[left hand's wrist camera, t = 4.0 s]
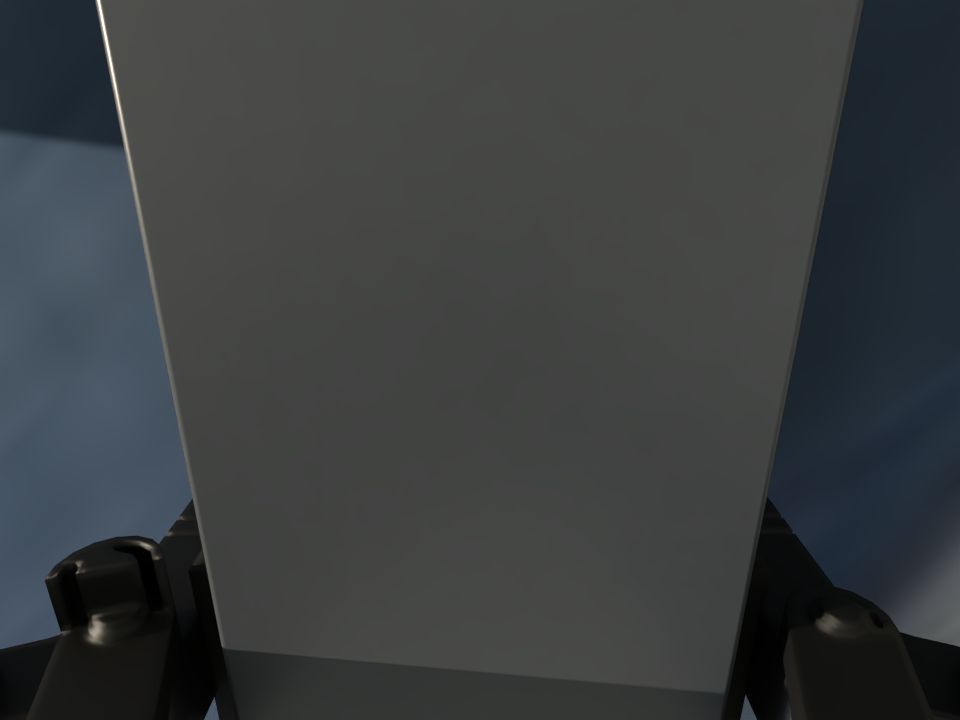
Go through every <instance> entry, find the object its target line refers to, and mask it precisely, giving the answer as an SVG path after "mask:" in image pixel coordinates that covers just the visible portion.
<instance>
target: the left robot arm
mask: <svg viewBox="0 0 960 720" xmlns="http://www.w3.org/2000/svg"><path fill="white" fill-rule="evenodd" d="M45 583H46V586H47V589H48V592H49V595H50V599H51V602H52V605H53V608H54V611H55V614H56V618H57V621H58V624H59V627H60V630H61V633H60V635H58V636H54V637H51V638H48V639H44V640H39V641H35V642H31V643H26V644H22V645H18V646H13V647H9V648H5V649H0V720H204V718H205V716H206V714H207V712H208V709H209V707H210V705H211V703H212V701H213V698H214V696H215V701H216V706H217V710H218V715H219V720H236V717H235V711H234V706H233V701H232V696H231V691H230V686H229V681H228V676H227V671H226V665H225V660H224V655H223V650H222V645H221V640H220V635H219V630H218V625H217V619H216V614H215V609H214V604H213V599H212V594H211V589H210V584H209V579H208V573H207V568H206V563H205V558H204V553H203V548H202V543H201V538H200V533H199V527H198V522H197V517H196V512H195V507H194V502H193V499H192V500H191V502H190V503H189V504H188V506H187V507H186V509H185V510H184V511H183V513H182V514H181V515H180V517H179V520H177V521H176V522H175V523H174V525H173V526H172V527H171V529H170V530H169V531H168V536H165V537H164V538H163V539H162V541H161V542H160V544H158V543H156V542H155V541H154V540H153V539H149V538H145V537H140V536H125V537H115V538H111V539H107V540H103V541H100V542H96V543H93V544H91V545H89V546H87V547H84V548H82V549H80V550H78V551H76V552H74V553H72V554H71V555H69V556H68V557H67V558H65V559H64V560H62V561H61V562H60V563H58V564H57V565H55V567H54V568H53V569H52V571H51V572H50V573H49V574H48V576H47V577H46V578H45ZM745 694H746V696H747V698H748V701H749V703H750V705H751V707H752V709H753V712H754V714H755V716H756V718H757V720H960V647H958V646H954V645H950V644H945V643H941V642H937V641H932V640H928V639H923V638H919V637H915V636H911V635H908V634H904V633H901V632H899V630H898V629H897V627H896V626H895V624H894V623H893V621H892V620H891V618H890V617H889V616H888V615H887V614H886V613H885V612H883V611H882V610H881V609H880V608H879V607H877V606H876V605H875V604H874V603H873V602H871V601H869V600H867V599H865V598H863V597H861V596H859V595H857V594H855V593H853V592H851V591H847V590H844V589H841V588H837V587H834V585H833V584H832V583H831V581H830V580H829V579H828V577H827V576H826V575H825V573H824V572H823V571H822V569H821V568H820V567H819V565H818V564H817V563H816V561H815V560H814V559H813V557H812V556H811V555H810V553H809V552H808V551H807V549H806V548H805V547H804V545H803V544H802V543H801V541H800V540H799V539H798V537H797V536H796V535H795V534H792V529H791V528H790V527H789V525H788V524H787V522H786V521H785V520H784V518H781V514H780V513H779V512H778V510H777V509H776V508H775V506H774V505H773V504H772V502H771V501H770V500H769V498H768V497H767V499H766V504H765V509H764V514H763V519H762V524H761V529H760V535H759V540H758V545H757V550H756V555H755V560H754V565H753V570H752V575H751V581H750V586H749V591H748V596H747V601H746V606H745V611H744V616H743V622H742V627H741V632H740V637H739V642H738V647H737V652H736V657H735V663H734V668H733V673H732V678H731V683H730V688H729V693H728V698H727V703H726V709H725V714H724V719H723V720H740V718H741V713H742V708H743V704H744V699H745Z"/></svg>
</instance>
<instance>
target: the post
mask: <svg viewBox="0 0 960 720" xmlns="http://www.w3.org/2000/svg"><path fill="white" fill-rule="evenodd" d="M95 1H96V6H97V11H98V17H99V22H100V27H101V32H102V37H103V42H104V47H105V52H106V57H107V63H108V68H109V73H110V78H111V83H112V88H113V93H114V98H115V103H116V108H117V114H118V119H119V124H120V129H121V134H122V139H123V144H124V149H125V154H126V160H127V165H128V170H129V175H130V180H131V185H132V190H133V195H134V200H135V206H136V211H137V216H138V221H139V226H140V231H141V236H142V241H143V246H144V252H145V257H146V262H147V267H148V272H149V277H150V282H151V287H152V292H153V298H154V303H155V308H156V313H157V318H158V323H159V328H160V333H161V338H162V344H163V349H164V354H165V359H166V364H167V369H168V374H169V379H170V384H171V390H172V395H173V400H174V405H175V410H176V415H177V420H178V425H179V430H180V435H181V441H182V446H183V451H184V456H185V461H186V466H187V471H188V476H189V481H190V487H191V492H192V497H193V502H194V507H195V512H196V517H197V522H198V527H199V533H200V538H201V543H202V548H203V553H204V558H205V563H206V568H207V573H208V579H209V584H210V589H211V594H212V599H213V604H214V609H215V614H216V619H217V625H218V630H219V635H220V640H221V645H222V650H223V655H224V660H225V665H226V671H227V676H228V681H229V686H230V691H231V696H232V701H233V706H234V711H235V717H236V720H723V719H724V714H725V709H726V703H727V698H728V693H729V688H730V683H731V678H732V673H733V668H734V663H735V657H736V652H737V647H738V642H739V637H740V632H741V627H742V622H743V616H744V611H745V606H746V601H747V596H748V591H749V586H750V581H751V575H752V570H753V565H754V560H755V555H756V550H757V545H758V540H759V535H760V529H761V524H762V519H763V514H764V509H765V504H766V499H767V494H768V488H769V483H770V478H771V473H772V468H773V463H774V458H775V453H776V447H777V442H778V437H779V432H780V427H781V422H782V417H783V412H784V406H785V401H786V396H787V391H788V386H789V381H790V376H791V371H792V366H793V360H794V355H795V350H796V345H797V340H798V335H799V330H800V325H801V319H802V314H803V309H804V304H805V299H806V294H807V289H808V284H809V278H810V273H811V268H812V263H813V258H814V253H815V248H816V243H817V238H818V232H819V227H820V222H821V217H822V212H823V207H824V202H825V197H826V191H827V186H828V181H829V176H830V171H831V166H832V161H833V156H834V150H835V145H836V140H837V135H838V130H839V125H840V120H841V115H842V109H843V104H844V99H845V94H846V89H847V84H848V79H849V74H850V69H851V63H852V58H853V53H854V48H855V43H856V38H857V33H858V28H859V22H860V17H861V12H862V7H863V2H864V0H95Z"/></svg>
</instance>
